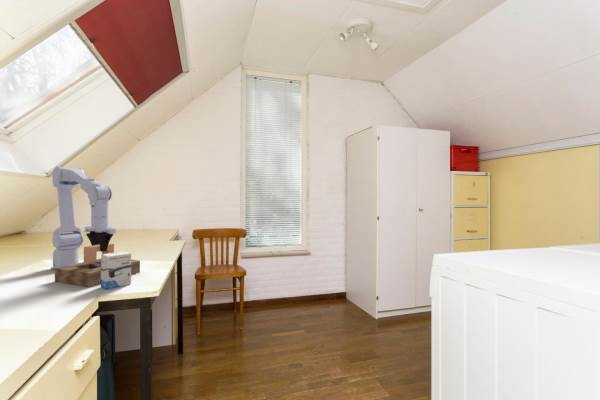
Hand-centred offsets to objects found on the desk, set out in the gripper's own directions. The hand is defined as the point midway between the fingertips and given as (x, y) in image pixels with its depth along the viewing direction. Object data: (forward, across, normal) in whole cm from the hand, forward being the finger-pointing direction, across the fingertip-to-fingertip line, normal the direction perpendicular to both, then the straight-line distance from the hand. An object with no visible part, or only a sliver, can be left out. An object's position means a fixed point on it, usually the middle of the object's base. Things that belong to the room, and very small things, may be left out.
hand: (99, 250), depth 123 cm
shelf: (+10, 0, 0) cm, 10 cm away
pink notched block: (+4, 0, 0) cm, 4 cm away
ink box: (+11, +16, -6) cm, 20 cm away
